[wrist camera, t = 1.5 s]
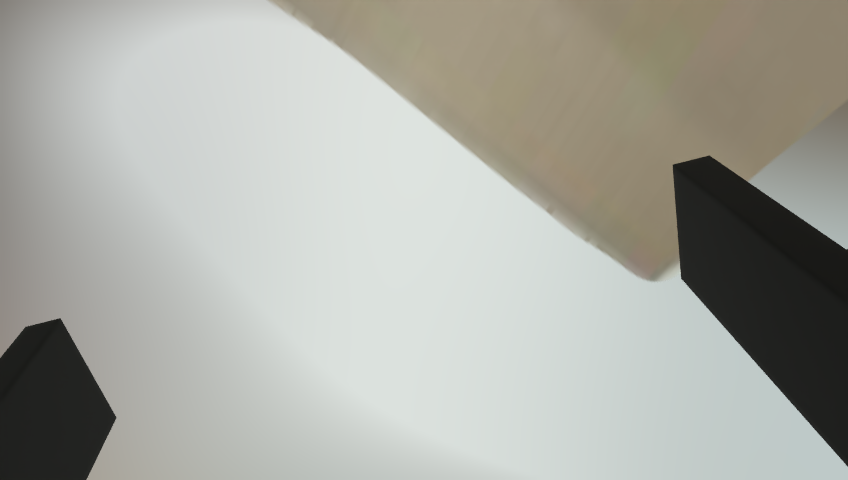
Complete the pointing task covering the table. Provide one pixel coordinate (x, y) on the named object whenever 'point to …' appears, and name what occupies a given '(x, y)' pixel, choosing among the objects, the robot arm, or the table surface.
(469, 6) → the table surface
